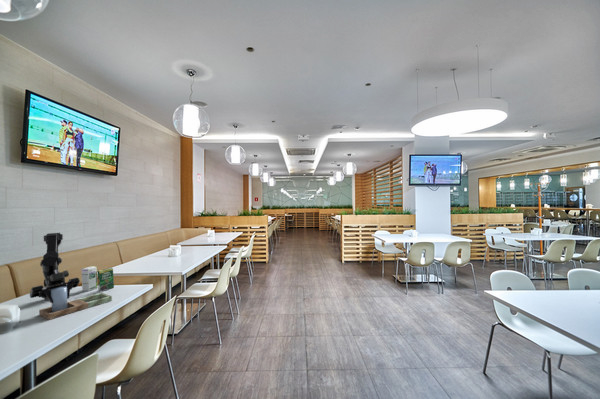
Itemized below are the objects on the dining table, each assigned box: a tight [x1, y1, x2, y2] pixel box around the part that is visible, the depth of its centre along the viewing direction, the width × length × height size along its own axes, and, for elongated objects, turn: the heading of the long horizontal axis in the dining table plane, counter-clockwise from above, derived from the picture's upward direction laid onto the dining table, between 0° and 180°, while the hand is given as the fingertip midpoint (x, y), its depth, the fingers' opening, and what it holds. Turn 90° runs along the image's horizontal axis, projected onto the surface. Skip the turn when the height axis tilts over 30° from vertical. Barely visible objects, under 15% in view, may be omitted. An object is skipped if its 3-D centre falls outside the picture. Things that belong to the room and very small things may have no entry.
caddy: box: [38, 292, 113, 321], centre depth 140 cm, size 27×12×2 cm, turn 149°
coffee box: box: [97, 267, 115, 292], centre depth 168 cm, size 8×3×13 cm, turn 146°
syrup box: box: [80, 266, 98, 292], centre depth 169 cm, size 6×6×14 cm
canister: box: [51, 287, 69, 313], centre depth 133 cm, size 6×6×12 cm
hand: (60, 300), depth 132 cm, fingers closed on canister, 6 cm apart
